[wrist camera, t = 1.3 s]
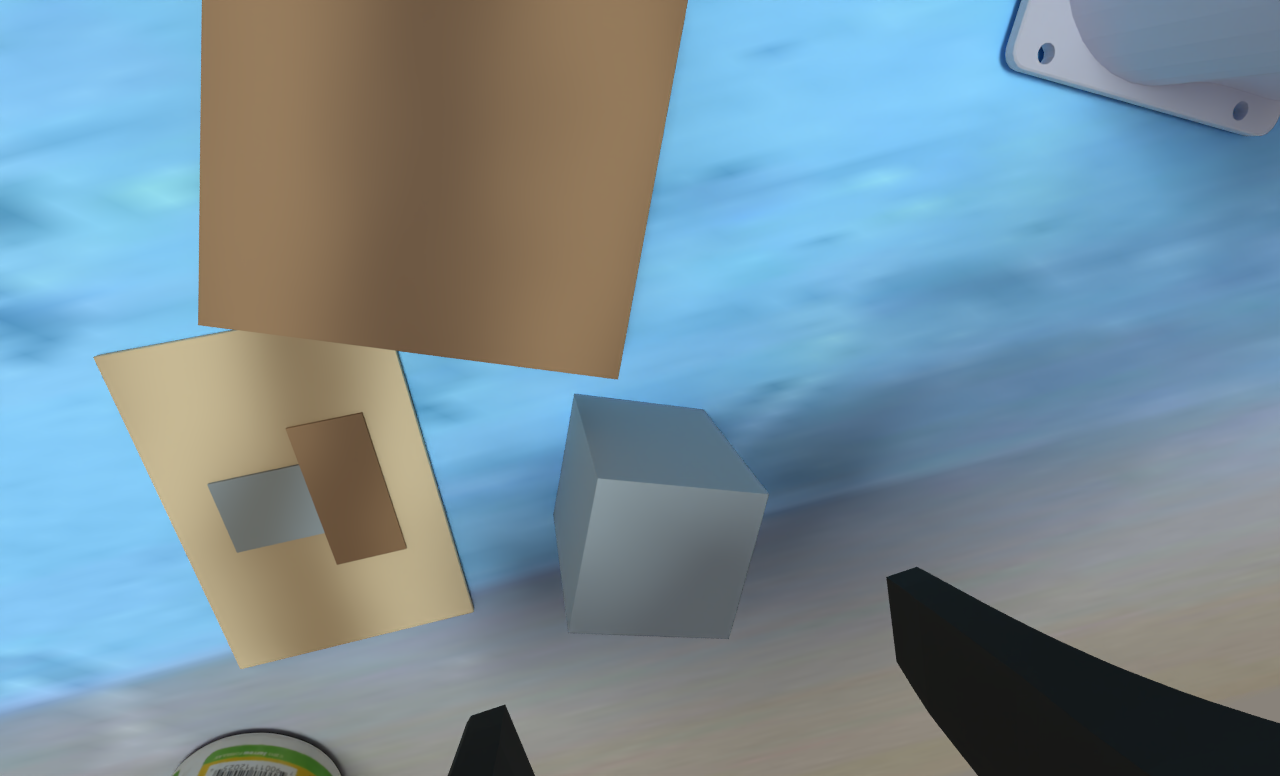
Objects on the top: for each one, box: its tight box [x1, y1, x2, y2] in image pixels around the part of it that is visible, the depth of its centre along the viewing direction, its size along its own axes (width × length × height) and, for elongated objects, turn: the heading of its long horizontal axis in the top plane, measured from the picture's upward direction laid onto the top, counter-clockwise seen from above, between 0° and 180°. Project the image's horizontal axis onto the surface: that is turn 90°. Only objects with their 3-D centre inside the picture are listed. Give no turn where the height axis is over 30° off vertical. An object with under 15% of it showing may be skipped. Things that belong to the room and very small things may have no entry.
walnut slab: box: [198, 0, 688, 379], centre depth 15 cm, size 9×9×3 cm
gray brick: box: [553, 394, 769, 639], centre depth 18 cm, size 4×4×6 cm
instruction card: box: [93, 330, 474, 669], centre depth 19 cm, size 7×10×1 cm
